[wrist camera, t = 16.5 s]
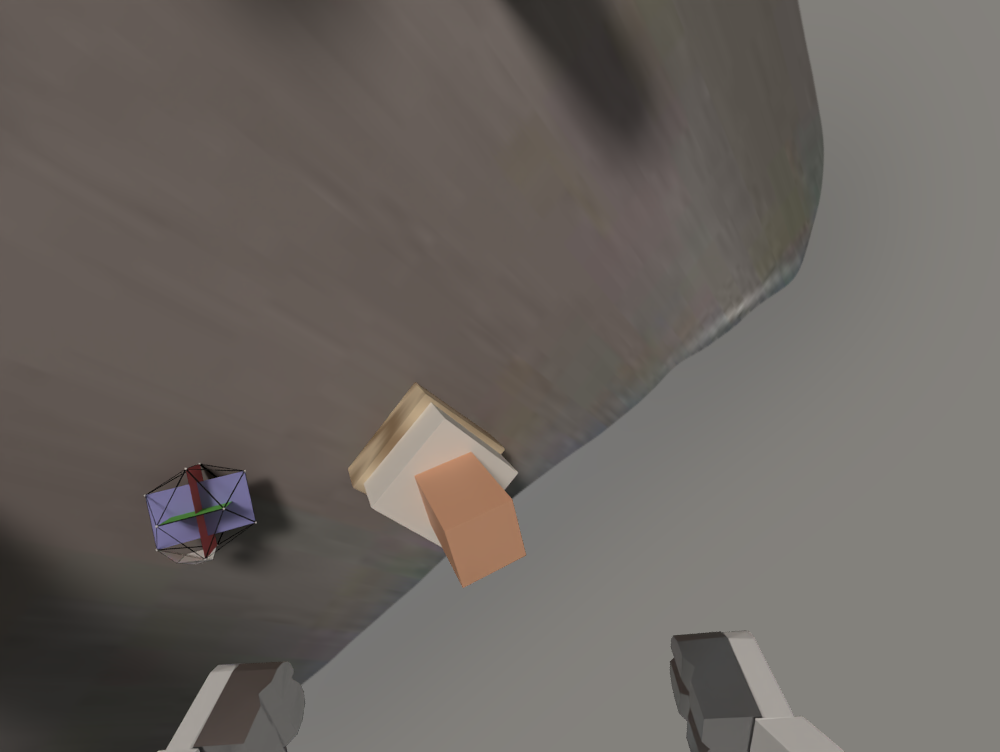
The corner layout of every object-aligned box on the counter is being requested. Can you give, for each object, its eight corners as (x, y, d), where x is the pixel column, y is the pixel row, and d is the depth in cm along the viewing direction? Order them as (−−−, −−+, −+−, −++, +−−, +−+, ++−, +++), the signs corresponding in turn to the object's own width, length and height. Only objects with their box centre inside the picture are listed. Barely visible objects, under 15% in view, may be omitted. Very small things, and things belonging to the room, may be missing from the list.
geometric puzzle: (129, 453, 35) (127, 562, 31) (235, 430, 37) (245, 528, 33) (166, 492, 41) (168, 588, 37) (256, 470, 43) (267, 558, 39)
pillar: (430, 524, 40) (463, 587, 33) (414, 475, 38) (444, 531, 31) (484, 500, 42) (526, 555, 35) (471, 451, 40) (512, 499, 33)
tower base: (429, 511, 49) (440, 533, 46) (347, 466, 44) (353, 487, 41) (489, 433, 50) (505, 449, 46) (414, 380, 45) (425, 393, 41)
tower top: (439, 528, 46) (453, 553, 42) (363, 483, 41) (371, 507, 38) (500, 453, 46) (518, 472, 42) (430, 402, 42) (444, 418, 38)
